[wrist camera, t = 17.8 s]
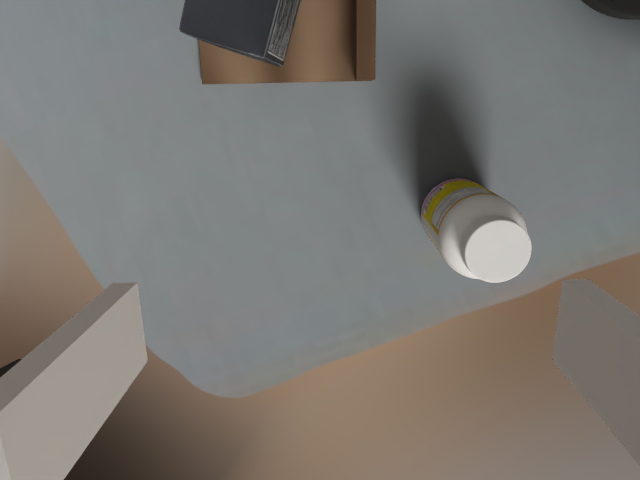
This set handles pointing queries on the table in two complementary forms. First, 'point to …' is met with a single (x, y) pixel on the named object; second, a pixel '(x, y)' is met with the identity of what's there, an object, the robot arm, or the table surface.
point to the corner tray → (307, 48)
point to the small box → (243, 26)
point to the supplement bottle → (476, 230)
